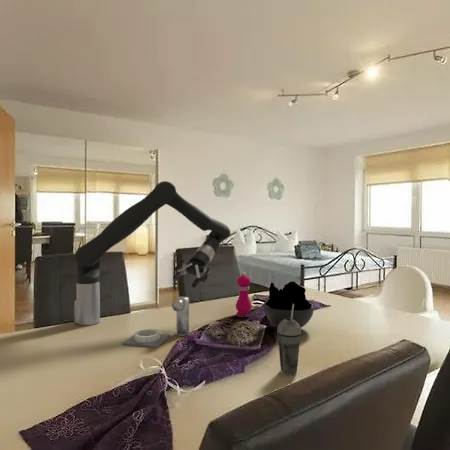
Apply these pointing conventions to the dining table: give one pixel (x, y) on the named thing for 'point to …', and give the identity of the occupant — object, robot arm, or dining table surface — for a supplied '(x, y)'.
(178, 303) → the duct elbow
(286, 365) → the beverage cup
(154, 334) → the plate
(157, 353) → the dining table surface
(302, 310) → the bowl of black rocks
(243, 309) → the pepper mill
